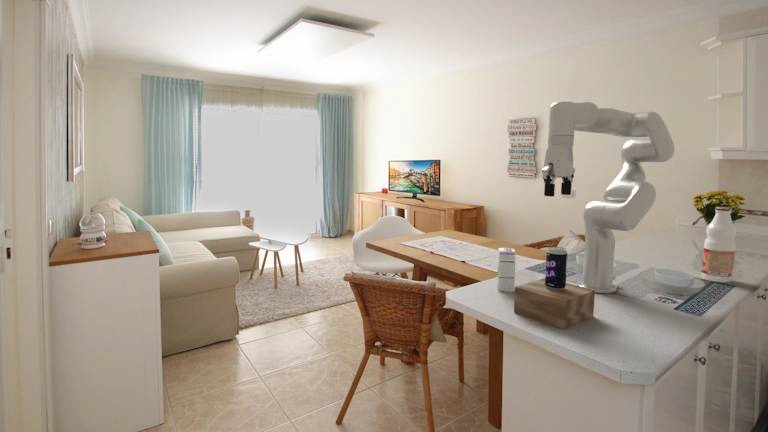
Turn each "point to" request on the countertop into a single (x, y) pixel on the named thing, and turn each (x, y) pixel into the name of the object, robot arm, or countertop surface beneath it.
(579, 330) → the countertop surface
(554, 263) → the beverage can
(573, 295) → the walnut block
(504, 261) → the syrup box
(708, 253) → the fruit juice
